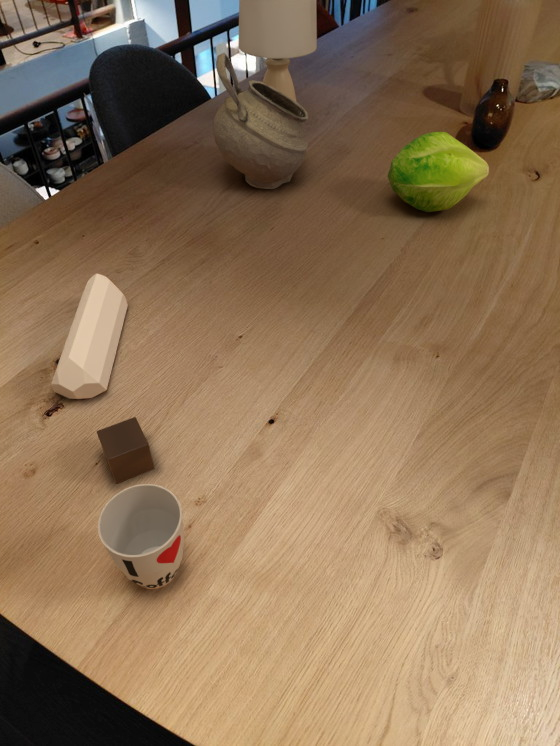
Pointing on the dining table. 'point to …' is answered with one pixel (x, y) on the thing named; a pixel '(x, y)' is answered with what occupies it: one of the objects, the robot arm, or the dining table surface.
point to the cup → (144, 534)
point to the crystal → (91, 341)
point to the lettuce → (435, 172)
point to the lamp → (278, 36)
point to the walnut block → (126, 449)
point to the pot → (259, 130)
